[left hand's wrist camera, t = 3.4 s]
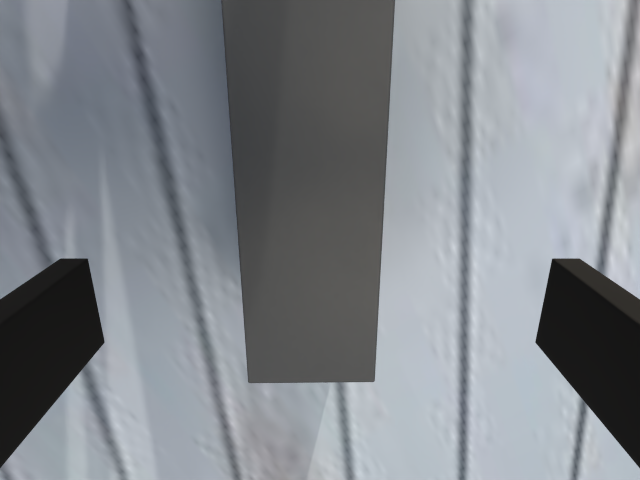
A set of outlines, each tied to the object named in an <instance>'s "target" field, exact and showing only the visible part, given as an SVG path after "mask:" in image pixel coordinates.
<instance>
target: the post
mask: <svg viewBox="0 0 640 480" xmlns="http://www.w3.org/2000/svg"><path fill="white" fill-rule="evenodd" d="M221 1H222V15H223V29H224V43H225V58H226V72H227V86H228V100H229V115H230V129H231V143H232V157H233V172H234V186H235V200H236V214H237V229H238V243H239V257H240V271H241V286H242V300H243V314H244V328H245V343H246V357H247V371H248V382H249V383H305V382H374V381H375V364H376V345H377V326H378V308H379V289H380V270H381V251H382V233H383V214H384V195H385V177H386V158H387V139H388V120H389V102H390V83H391V64H392V46H393V27H394V8H395V0H221Z"/></svg>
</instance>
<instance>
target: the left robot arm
mask: <svg viewBox="0 0 640 480" xmlns="http://www.w3.org/2000/svg"><path fill="white" fill-rule="evenodd" d="M103 344H104V337H103V332H102V327H101V322H100V317H99V312H98V307H97V302H96V298H95V293H94V288H93V283H92V278H91V273H90V268H89V263H88V259H59V260H58V261H56V262H55V263H53V264H52V265H50V266H49V267H48V268H46V269H45V270H43V271H42V272H40V273H39V274H37V275H36V276H34V277H33V278H31V279H30V280H28V281H27V282H25V283H24V284H22V285H21V286H20V287H18V288H17V289H15V290H14V291H12V292H11V293H9V294H8V295H6V296H5V297H3V298H2V299H0V468H1V466H2V465H3V464H4V463H5V462H6V460H7V459H8V458H9V457H10V456H11V454H12V453H13V452H14V451H15V450H16V448H17V447H18V446H19V445H20V444H21V442H22V441H23V440H24V439H25V438H26V436H27V435H28V434H29V433H30V432H31V430H32V429H33V428H34V427H35V425H36V424H37V423H38V422H39V421H40V419H41V418H42V417H43V416H44V415H45V413H46V412H47V411H48V410H49V409H50V407H51V406H52V405H53V404H54V403H55V401H56V400H57V399H58V398H59V397H60V395H61V394H62V393H63V392H64V391H65V389H66V388H67V387H68V386H69V385H70V383H71V382H72V381H73V380H74V378H75V377H76V376H77V375H78V374H79V372H80V371H81V370H82V369H83V368H84V366H85V365H86V364H87V363H88V362H89V360H90V359H91V358H92V357H93V356H94V354H95V353H96V352H97V351H98V350H99V348H100V347H101V346H102V345H103ZM536 344H537V345H538V346H539V347H540V348H541V350H542V351H543V352H544V353H545V354H546V356H547V357H548V358H549V359H550V360H551V362H552V363H553V364H554V365H555V366H556V368H557V369H558V370H559V371H560V372H561V374H562V375H563V376H564V377H565V378H566V380H567V381H568V382H569V383H570V385H571V386H572V387H573V388H574V389H575V391H576V392H577V393H578V394H579V395H580V397H581V398H582V399H583V400H584V401H585V403H586V404H587V405H588V406H589V407H590V409H591V410H592V411H593V412H594V413H595V415H596V416H597V417H598V418H599V419H600V421H601V422H602V423H603V424H604V425H605V427H606V428H607V429H608V430H609V432H610V433H611V434H612V435H613V436H614V438H615V439H616V440H617V441H618V442H619V444H620V445H621V446H622V447H623V448H624V450H625V451H626V452H627V453H628V454H629V456H630V457H631V458H632V459H633V460H634V462H635V463H636V464H637V465H638V466H639V468H640V299H638V298H637V297H635V296H634V295H632V294H631V293H629V292H628V291H626V290H625V289H623V288H622V287H620V286H619V285H618V284H616V283H615V282H613V281H612V280H610V279H609V278H607V277H606V276H604V275H603V274H601V273H600V272H598V271H597V270H595V269H594V268H592V267H591V266H590V265H588V264H587V263H585V262H584V261H582V260H581V259H552V263H551V268H550V273H549V278H548V283H547V288H546V293H545V298H544V302H543V307H542V312H541V317H540V322H539V327H538V332H537V337H536Z"/></svg>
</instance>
